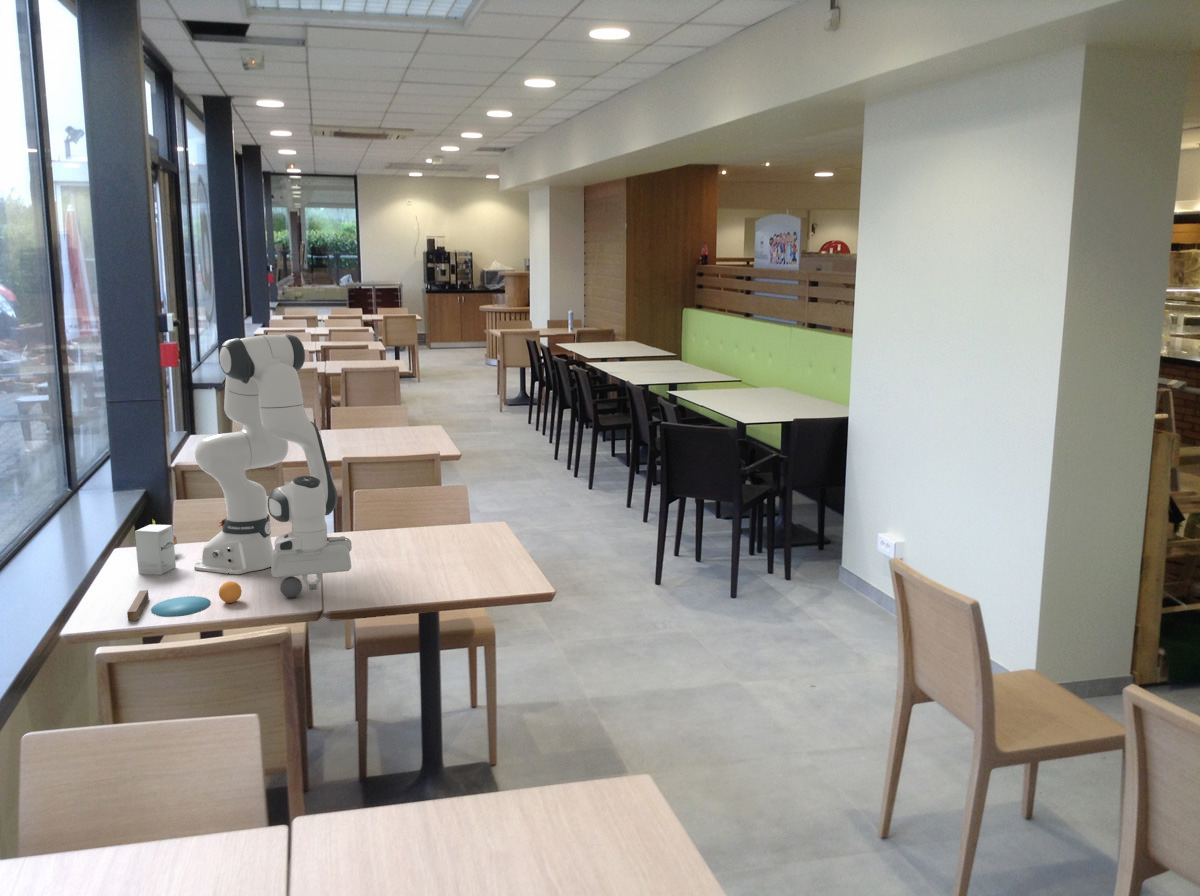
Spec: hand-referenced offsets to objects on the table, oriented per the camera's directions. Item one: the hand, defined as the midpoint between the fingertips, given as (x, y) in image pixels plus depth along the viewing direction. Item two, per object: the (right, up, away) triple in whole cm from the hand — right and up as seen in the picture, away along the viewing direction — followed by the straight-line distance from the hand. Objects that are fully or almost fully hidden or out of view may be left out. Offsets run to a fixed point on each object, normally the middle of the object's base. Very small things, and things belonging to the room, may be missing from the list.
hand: (313, 589), depth 261 cm
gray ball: (-5, +1, -2) cm, 6 cm away
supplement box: (-50, +2, +20) cm, 54 cm away
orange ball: (-20, 0, -6) cm, 20 cm away
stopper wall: (-41, -4, -11) cm, 42 cm away
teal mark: (-31, -3, -8) cm, 32 cm away
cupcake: (-54, +5, +34) cm, 64 cm away
